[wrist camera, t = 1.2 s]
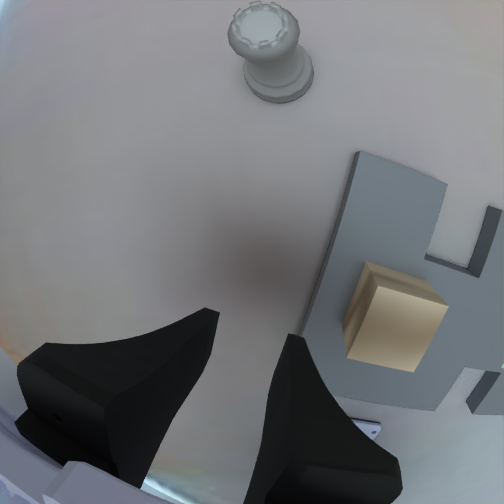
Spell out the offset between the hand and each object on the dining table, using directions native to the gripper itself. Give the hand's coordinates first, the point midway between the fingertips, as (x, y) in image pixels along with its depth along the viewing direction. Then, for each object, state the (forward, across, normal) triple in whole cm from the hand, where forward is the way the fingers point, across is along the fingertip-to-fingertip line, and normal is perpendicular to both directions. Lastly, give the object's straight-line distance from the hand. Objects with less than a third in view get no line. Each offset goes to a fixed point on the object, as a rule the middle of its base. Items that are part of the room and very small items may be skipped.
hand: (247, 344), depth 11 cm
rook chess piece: (+11, +3, -12) cm, 17 cm away
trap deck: (+10, -16, 0) cm, 19 cm away
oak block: (+8, -8, 0) cm, 11 cm away
